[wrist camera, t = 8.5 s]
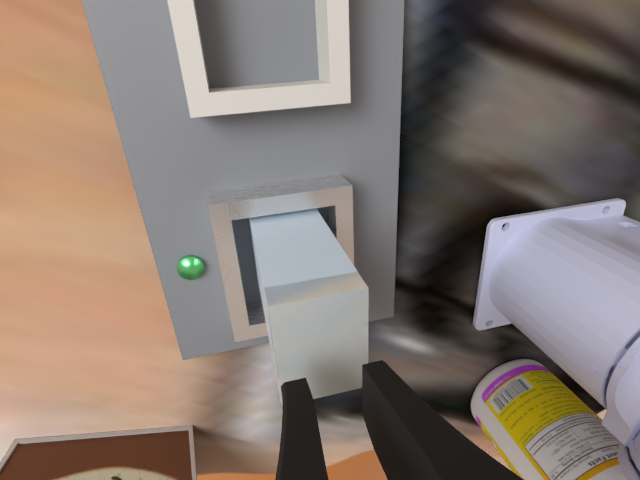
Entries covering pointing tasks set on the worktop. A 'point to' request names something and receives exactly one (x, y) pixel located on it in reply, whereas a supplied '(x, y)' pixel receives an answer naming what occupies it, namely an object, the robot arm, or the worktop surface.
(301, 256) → the plug
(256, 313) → the port
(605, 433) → the supplement bottle
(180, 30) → the frame
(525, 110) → the worktop surface
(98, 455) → the food container
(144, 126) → the panel
